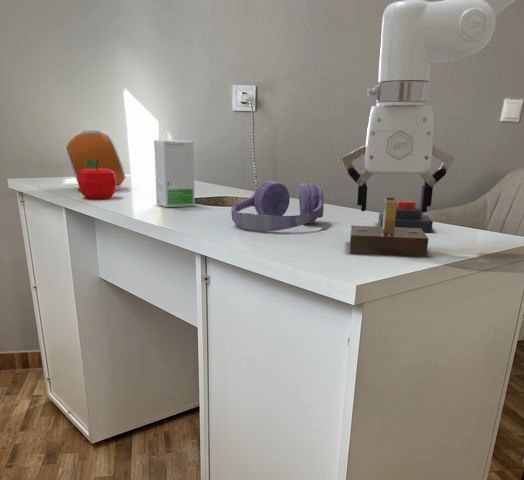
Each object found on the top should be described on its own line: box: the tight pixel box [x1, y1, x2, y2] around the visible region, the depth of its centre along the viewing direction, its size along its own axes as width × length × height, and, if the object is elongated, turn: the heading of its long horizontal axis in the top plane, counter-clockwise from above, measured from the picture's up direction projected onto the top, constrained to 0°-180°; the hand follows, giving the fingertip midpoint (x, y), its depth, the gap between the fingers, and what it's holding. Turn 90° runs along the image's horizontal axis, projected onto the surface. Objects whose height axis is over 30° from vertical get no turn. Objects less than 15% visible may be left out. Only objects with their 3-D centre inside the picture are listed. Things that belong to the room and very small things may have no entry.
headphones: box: [230, 180, 324, 233], centre depth 114 cm, size 18×8×20 cm
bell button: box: [396, 199, 417, 210], centre depth 113 cm, size 4×4×2 cm
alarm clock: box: [64, 129, 126, 188], centre depth 172 cm, size 19×18×17 cm
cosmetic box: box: [153, 139, 196, 208], centre depth 138 cm, size 8×7×16 cm
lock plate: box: [349, 225, 429, 258], centre depth 93 cm, size 12×10×3 cm
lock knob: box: [382, 196, 398, 234], centre depth 91 cm, size 6×2×5 cm, turn 172°
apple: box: [77, 160, 117, 200], centre depth 152 cm, size 11×11×10 cm
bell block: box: [377, 206, 434, 233], centre depth 114 cm, size 10×9×4 cm
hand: (393, 210), depth 91 cm, fingers open, 9 cm apart
